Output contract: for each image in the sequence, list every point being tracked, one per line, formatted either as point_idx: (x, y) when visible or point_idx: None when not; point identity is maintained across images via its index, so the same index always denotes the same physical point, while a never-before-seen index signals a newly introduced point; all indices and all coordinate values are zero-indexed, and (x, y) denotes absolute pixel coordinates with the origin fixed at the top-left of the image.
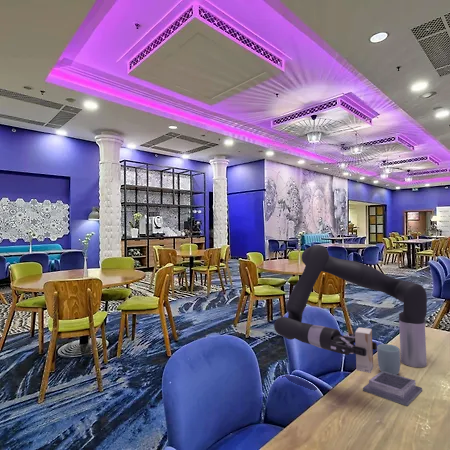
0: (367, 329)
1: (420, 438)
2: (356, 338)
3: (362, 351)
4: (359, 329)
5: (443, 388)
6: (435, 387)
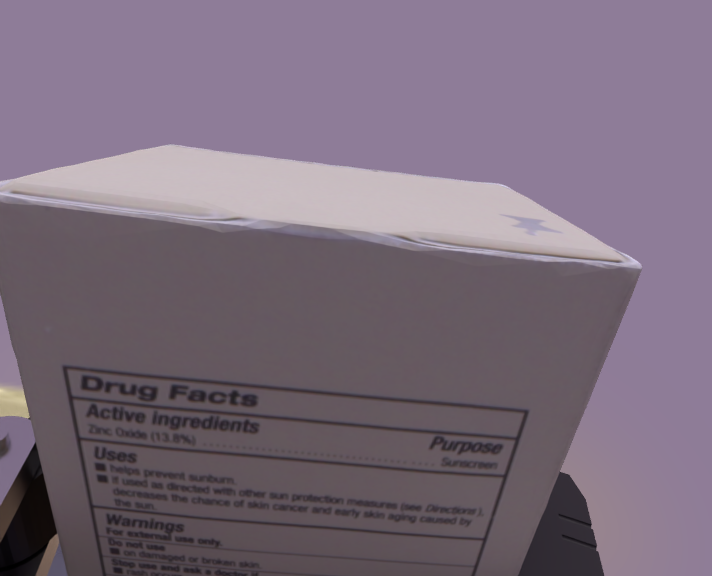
0: (236, 157)
1: None
2: (563, 413)
3: (566, 486)
4: (302, 196)
5: (21, 395)
6: (5, 415)
